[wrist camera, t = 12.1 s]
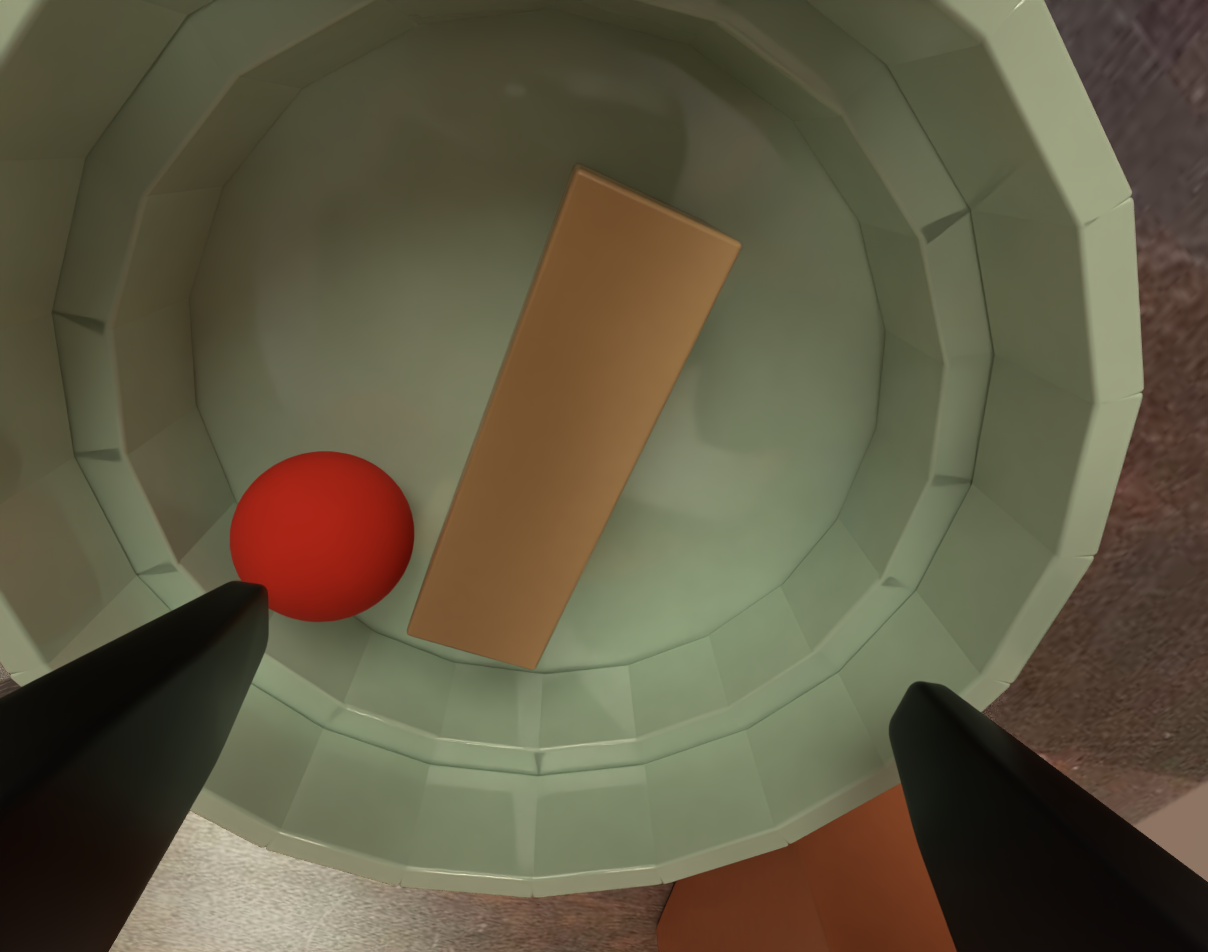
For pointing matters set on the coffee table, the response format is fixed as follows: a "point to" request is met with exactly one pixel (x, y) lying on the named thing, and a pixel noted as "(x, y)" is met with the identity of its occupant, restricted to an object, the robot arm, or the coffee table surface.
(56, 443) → the bowl
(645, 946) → the coffee table surface
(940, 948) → the rectangular block
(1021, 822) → the robot arm
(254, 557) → the tomato ball
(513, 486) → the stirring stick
